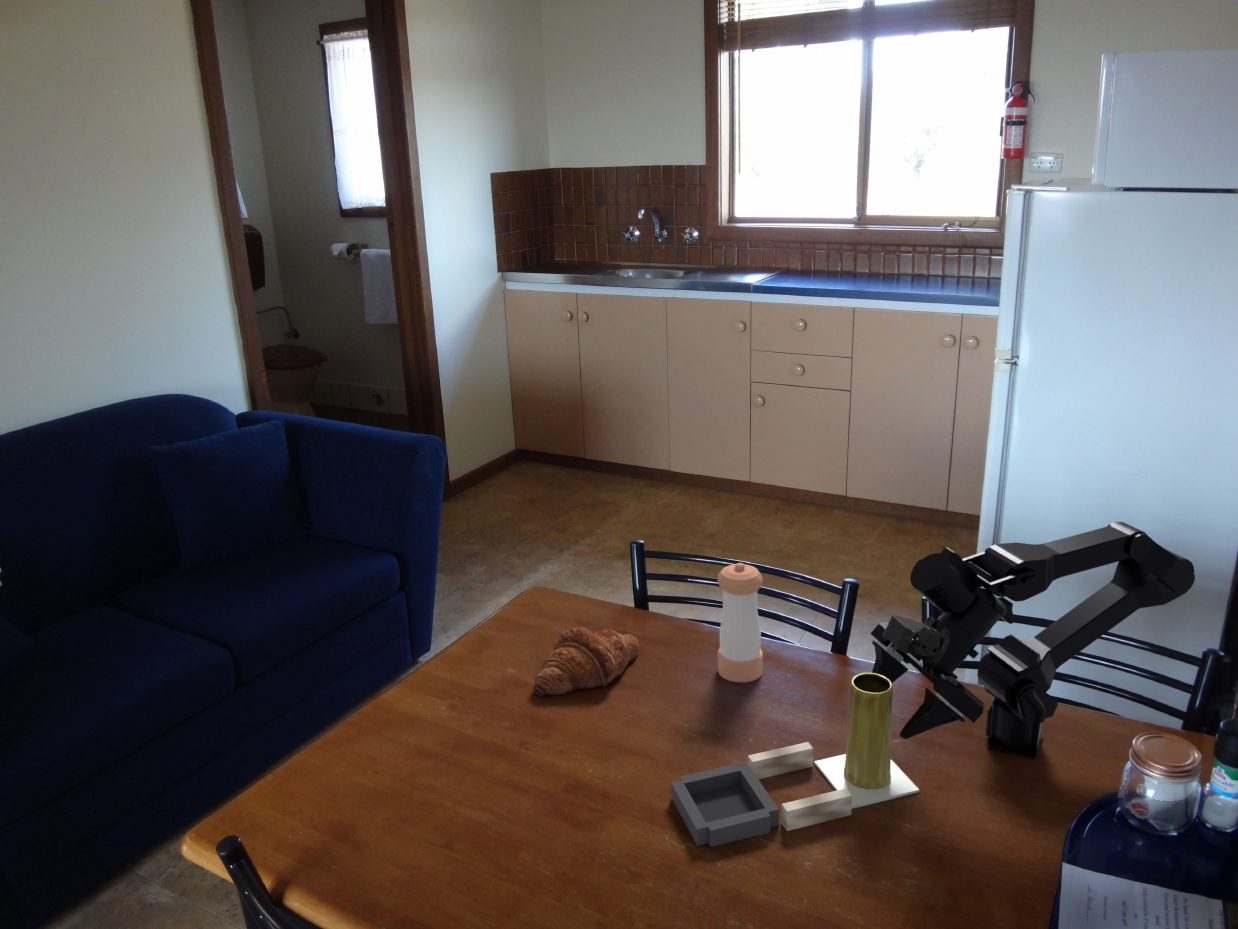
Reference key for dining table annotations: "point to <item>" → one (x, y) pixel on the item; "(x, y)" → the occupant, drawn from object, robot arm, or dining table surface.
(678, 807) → the tray
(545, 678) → the pastry
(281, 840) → the dining table surface
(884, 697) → the vase
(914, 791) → the pad
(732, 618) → the salt shaker
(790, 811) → the channel
